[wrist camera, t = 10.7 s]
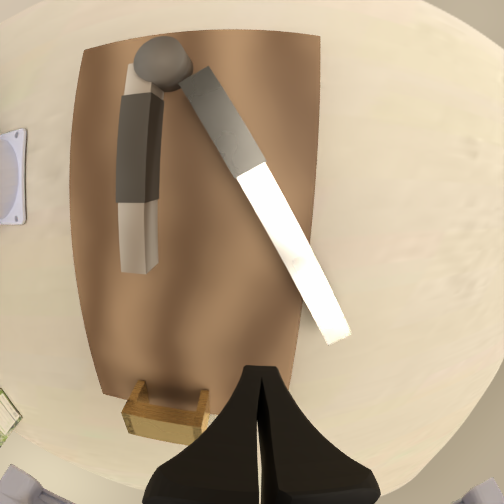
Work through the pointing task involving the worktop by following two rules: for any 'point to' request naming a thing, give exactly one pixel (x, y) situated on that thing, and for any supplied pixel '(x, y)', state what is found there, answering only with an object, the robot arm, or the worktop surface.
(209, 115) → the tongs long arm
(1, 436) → the syrup box
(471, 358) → the worktop surface
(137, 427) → the wooden u-shaped block
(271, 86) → the tong board
